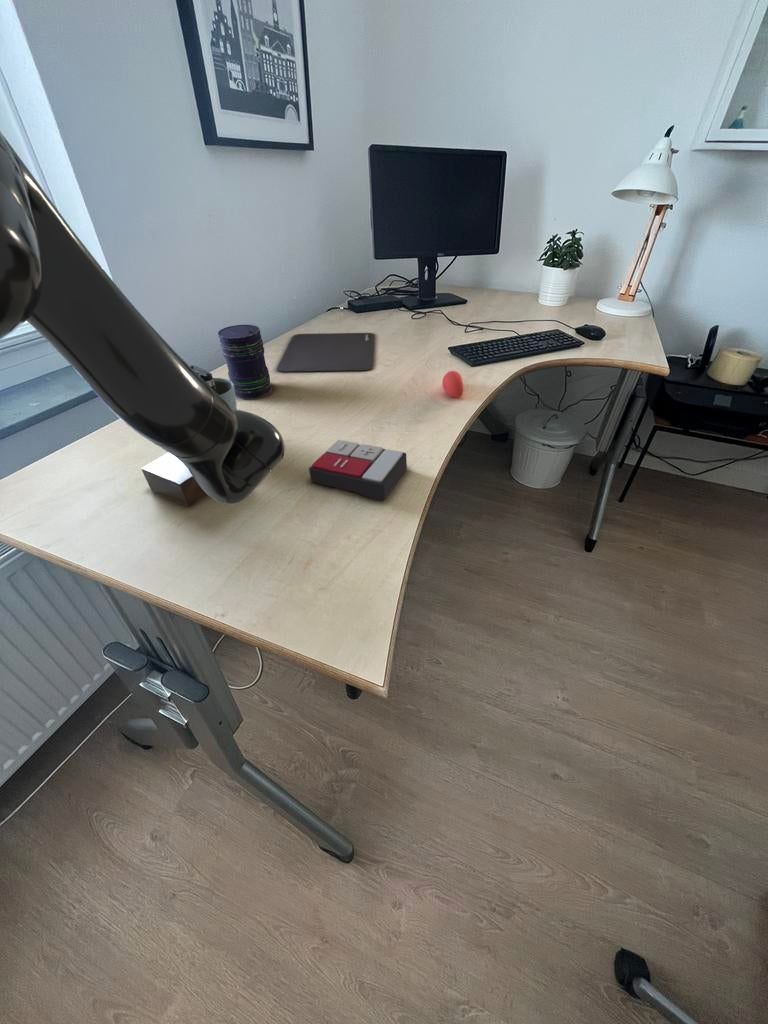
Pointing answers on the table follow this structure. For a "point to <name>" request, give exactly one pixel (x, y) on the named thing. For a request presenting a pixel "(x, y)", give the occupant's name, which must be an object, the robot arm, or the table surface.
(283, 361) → the mouse pad
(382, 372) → the table surface
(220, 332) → the storage jar
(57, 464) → the table surface
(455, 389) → the stress ball
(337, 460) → the calculator
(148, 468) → the riser
